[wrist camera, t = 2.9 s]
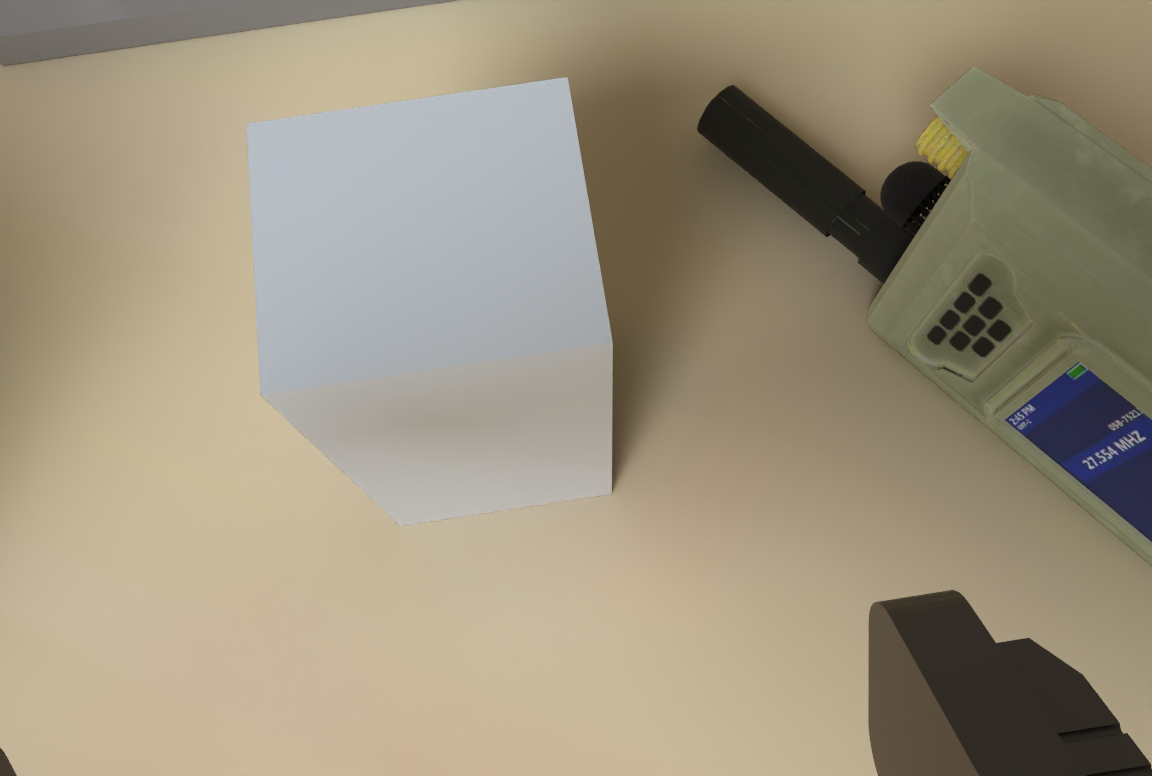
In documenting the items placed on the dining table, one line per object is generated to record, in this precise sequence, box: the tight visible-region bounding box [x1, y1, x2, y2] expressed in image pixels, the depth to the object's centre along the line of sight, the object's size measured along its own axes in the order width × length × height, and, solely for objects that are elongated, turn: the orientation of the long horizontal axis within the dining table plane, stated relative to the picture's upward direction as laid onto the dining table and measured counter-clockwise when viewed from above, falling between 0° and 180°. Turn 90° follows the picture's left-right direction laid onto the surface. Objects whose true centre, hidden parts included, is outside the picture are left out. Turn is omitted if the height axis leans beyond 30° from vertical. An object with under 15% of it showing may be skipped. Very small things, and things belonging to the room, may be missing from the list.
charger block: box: [246, 77, 613, 526], centre depth 18 cm, size 4×4×9 cm
